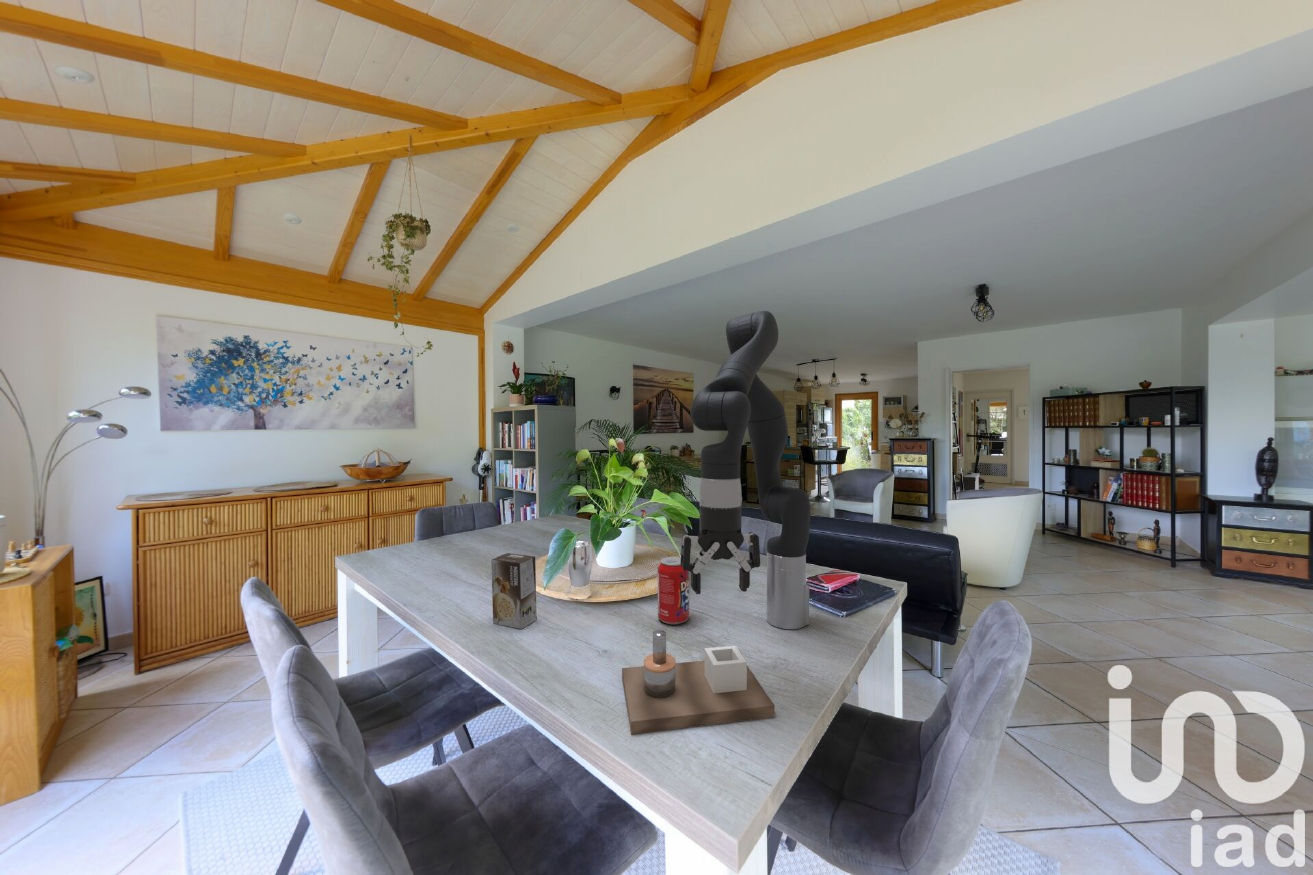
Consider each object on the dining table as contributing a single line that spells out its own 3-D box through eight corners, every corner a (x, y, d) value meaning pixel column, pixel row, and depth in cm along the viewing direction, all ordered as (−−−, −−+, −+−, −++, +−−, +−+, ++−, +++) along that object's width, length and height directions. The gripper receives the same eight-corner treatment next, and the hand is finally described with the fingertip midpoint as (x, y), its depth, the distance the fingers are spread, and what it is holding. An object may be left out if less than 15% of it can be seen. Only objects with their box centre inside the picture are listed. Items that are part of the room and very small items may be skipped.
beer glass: (581, 602, 125) (580, 548, 125) (562, 597, 129) (561, 544, 128) (597, 594, 131) (597, 542, 131) (579, 589, 135) (578, 539, 134)
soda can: (652, 617, 116) (651, 558, 115) (678, 610, 119) (678, 553, 119) (668, 629, 109) (667, 567, 108) (695, 622, 113) (695, 561, 112)
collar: (735, 671, 86) (735, 645, 86) (746, 689, 80) (746, 661, 80) (704, 674, 85) (704, 648, 85) (713, 693, 80) (713, 665, 79)
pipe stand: (741, 666, 92) (741, 607, 92) (774, 717, 76) (774, 646, 76) (622, 678, 88) (621, 616, 88) (631, 733, 72) (630, 659, 72)
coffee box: (538, 619, 115) (537, 555, 114) (521, 629, 109) (520, 563, 108) (508, 613, 118) (507, 552, 118) (491, 623, 112) (490, 559, 112)
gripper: (751, 498, 87) (750, 582, 88) (677, 500, 85) (677, 586, 86) (765, 505, 80) (765, 597, 80) (685, 507, 78) (685, 601, 78)
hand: (720, 591), depth 83 cm, fingers open, 8 cm apart
